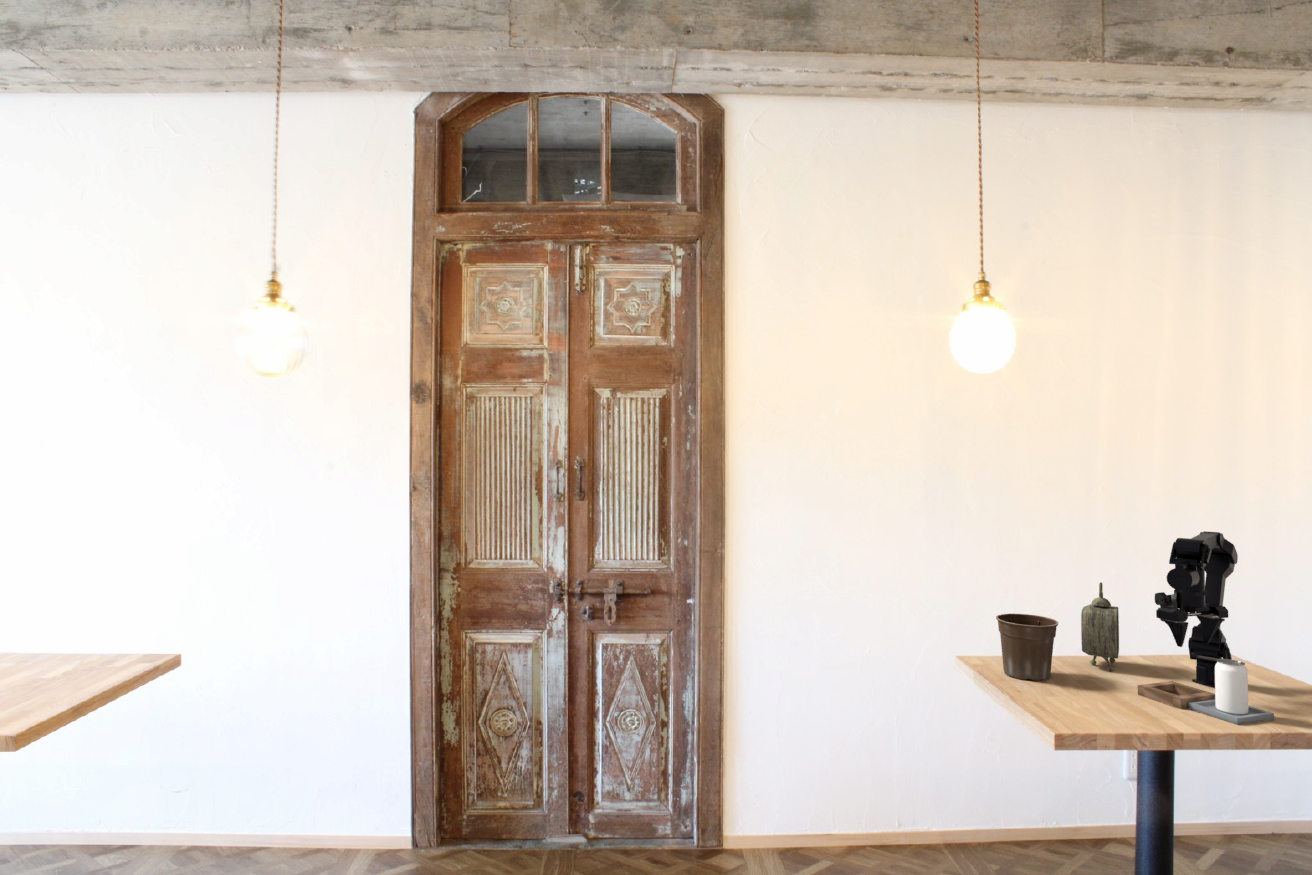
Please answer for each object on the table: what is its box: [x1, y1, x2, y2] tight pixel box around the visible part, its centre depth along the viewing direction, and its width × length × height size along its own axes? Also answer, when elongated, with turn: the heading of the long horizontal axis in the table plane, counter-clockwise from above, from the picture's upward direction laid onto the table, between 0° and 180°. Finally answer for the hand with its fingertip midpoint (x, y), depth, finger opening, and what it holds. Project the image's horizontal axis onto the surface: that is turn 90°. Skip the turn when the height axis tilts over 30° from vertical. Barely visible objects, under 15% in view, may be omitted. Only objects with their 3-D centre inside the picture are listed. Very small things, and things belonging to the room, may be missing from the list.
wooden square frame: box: [1137, 680, 1215, 710], centre depth 200 cm, size 12×12×2 cm
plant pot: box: [995, 613, 1059, 682], centre depth 222 cm, size 16×16×16 cm
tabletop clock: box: [1080, 582, 1120, 672], centre depth 232 cm, size 14×9×25 cm, turn 147°
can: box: [1214, 658, 1249, 715], centre depth 189 cm, size 6×6×12 cm
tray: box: [1188, 699, 1275, 726], centre depth 189 cm, size 12×12×2 cm
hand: (1192, 645), depth 204 cm, fingers open, 9 cm apart
